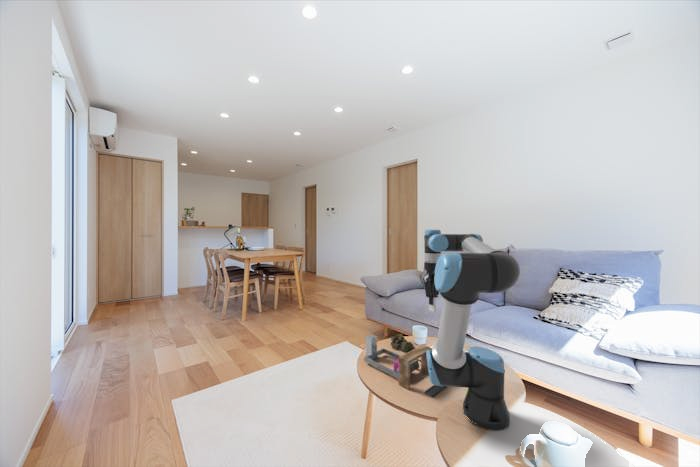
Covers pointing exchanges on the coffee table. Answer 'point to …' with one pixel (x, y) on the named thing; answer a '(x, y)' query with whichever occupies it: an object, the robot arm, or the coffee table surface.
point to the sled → (373, 353)
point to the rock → (401, 343)
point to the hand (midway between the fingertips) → (432, 310)
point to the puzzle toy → (396, 366)
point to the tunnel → (407, 359)
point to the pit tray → (434, 390)
